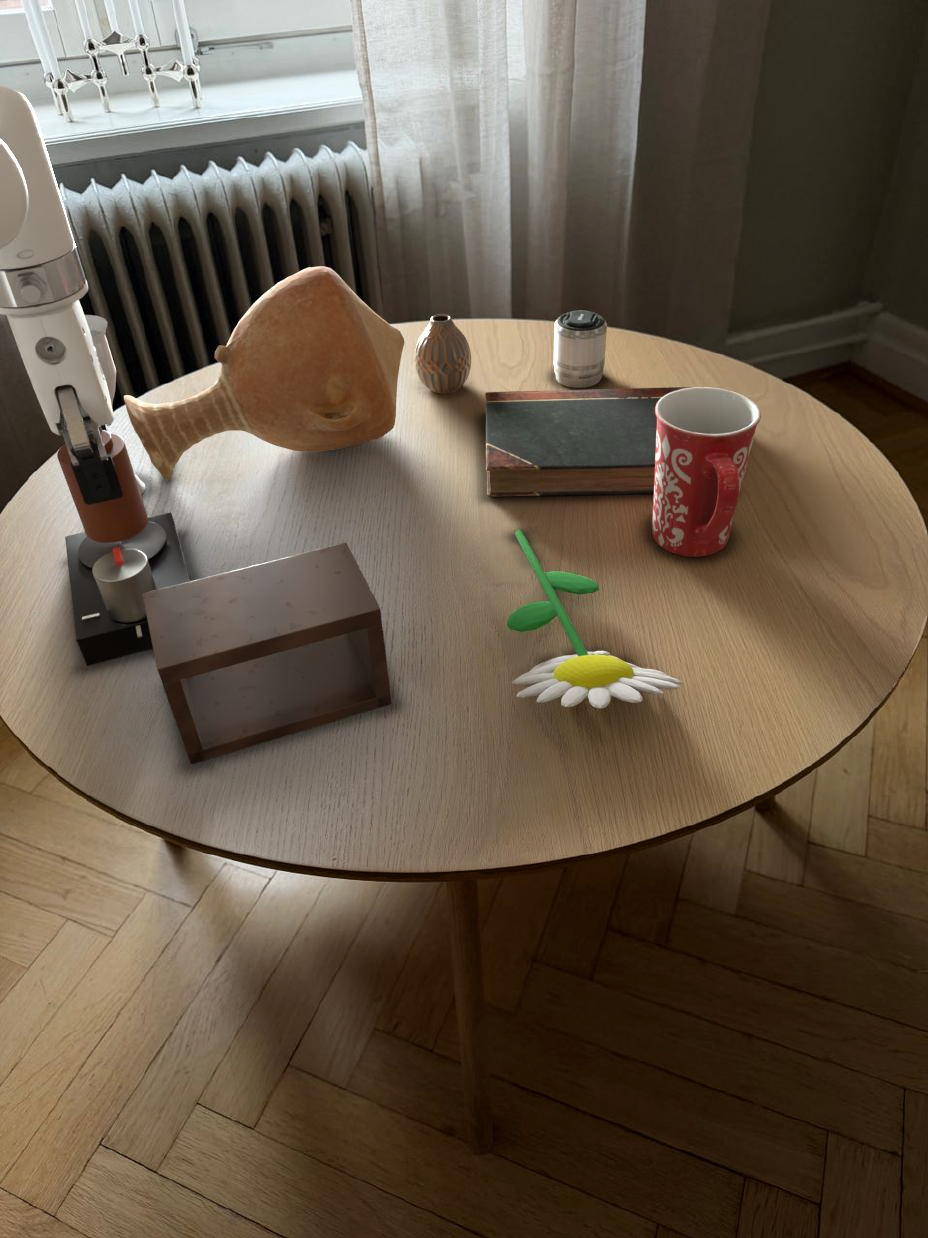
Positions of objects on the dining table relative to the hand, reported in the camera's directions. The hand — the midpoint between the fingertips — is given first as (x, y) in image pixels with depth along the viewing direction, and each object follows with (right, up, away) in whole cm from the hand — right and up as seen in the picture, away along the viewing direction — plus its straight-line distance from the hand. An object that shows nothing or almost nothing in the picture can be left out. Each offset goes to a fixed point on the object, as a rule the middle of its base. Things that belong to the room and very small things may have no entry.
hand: (100, 479), depth 81 cm
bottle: (0, -4, +3) cm, 5 cm away
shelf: (+17, -19, -7) cm, 26 cm away
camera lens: (+46, +18, +34) cm, 60 cm away
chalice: (-5, +1, +18) cm, 18 cm away
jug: (+11, +7, +24) cm, 27 cm away
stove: (+2, -10, +4) cm, 11 cm away
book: (+47, +6, +20) cm, 52 cm away
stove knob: (+4, -11, -2) cm, 12 cm away
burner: (0, -6, +5) cm, 7 cm away
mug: (+54, -6, +7) cm, 55 cm away
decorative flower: (+40, -14, -2) cm, 43 cm away
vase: (+30, +16, +34) cm, 48 cm away
